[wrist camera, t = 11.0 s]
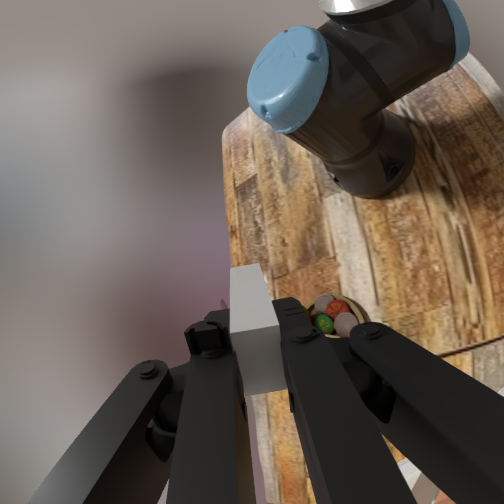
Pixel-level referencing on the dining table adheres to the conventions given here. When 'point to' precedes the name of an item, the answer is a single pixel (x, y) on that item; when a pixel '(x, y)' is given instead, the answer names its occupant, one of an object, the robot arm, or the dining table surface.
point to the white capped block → (421, 487)
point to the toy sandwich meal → (333, 315)
